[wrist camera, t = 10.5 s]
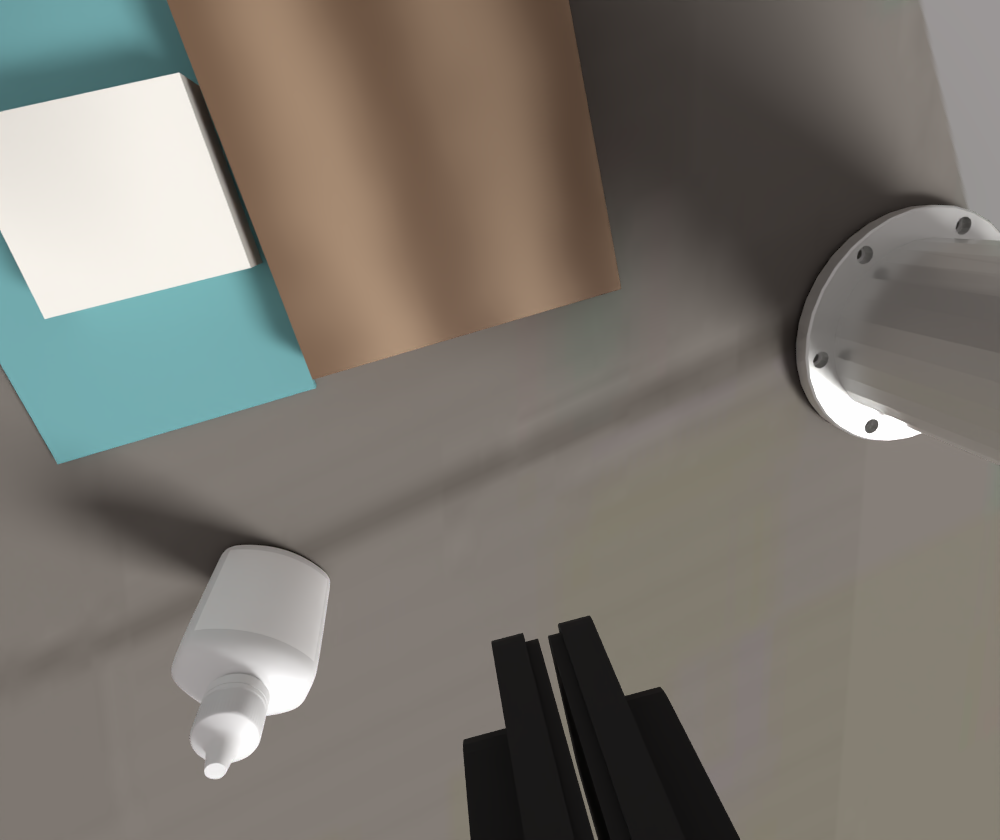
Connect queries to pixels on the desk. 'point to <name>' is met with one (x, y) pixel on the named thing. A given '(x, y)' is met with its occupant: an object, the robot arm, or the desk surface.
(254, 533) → the desk surface
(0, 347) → the mat
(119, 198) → the tile
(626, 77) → the desk surface
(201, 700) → the eye dropper bottle
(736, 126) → the desk surface
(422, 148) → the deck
